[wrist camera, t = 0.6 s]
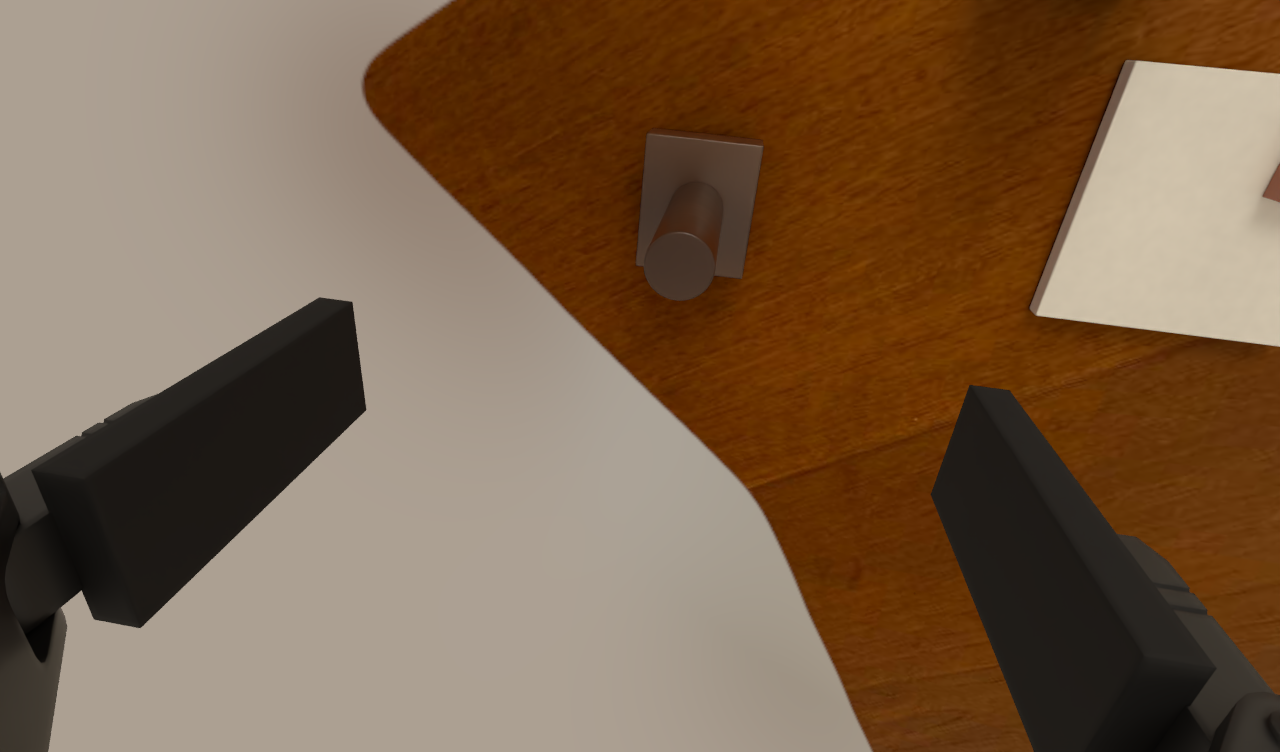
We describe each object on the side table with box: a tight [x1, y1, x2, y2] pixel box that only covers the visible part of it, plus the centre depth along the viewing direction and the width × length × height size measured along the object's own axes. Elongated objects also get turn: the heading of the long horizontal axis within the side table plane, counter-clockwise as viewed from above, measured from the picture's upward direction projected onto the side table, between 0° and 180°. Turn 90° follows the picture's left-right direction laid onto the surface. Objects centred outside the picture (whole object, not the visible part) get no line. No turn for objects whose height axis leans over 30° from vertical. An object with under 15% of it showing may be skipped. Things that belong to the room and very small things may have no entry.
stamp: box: [636, 128, 764, 301], centre depth 29 cm, size 6×5×12 cm
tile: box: [1029, 60, 1280, 347], centre depth 31 cm, size 12×12×1 cm
